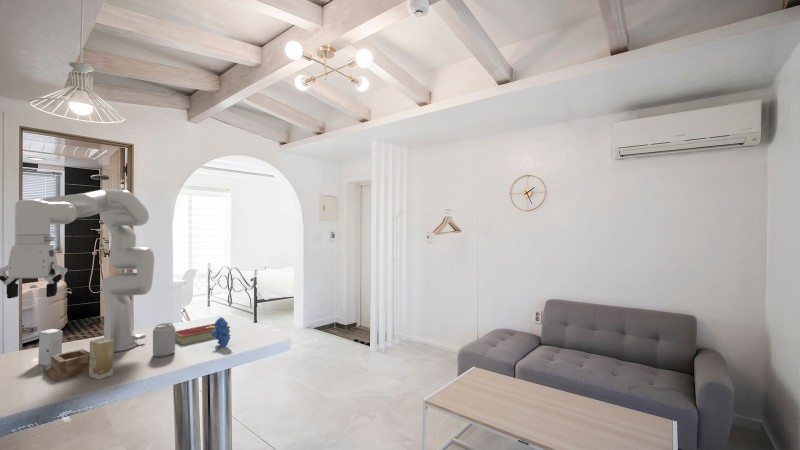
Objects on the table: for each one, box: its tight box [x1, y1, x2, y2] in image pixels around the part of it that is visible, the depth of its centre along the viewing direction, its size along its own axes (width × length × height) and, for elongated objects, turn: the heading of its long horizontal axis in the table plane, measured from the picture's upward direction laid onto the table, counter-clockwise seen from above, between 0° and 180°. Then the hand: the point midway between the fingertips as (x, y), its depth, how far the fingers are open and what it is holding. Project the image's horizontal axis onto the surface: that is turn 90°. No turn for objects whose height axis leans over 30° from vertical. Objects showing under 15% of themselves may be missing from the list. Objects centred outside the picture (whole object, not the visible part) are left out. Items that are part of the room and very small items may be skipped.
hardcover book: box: [175, 323, 231, 345], centre depth 169 cm, size 12×21×4 cm, turn 140°
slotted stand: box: [42, 348, 90, 382], centre depth 129 cm, size 12×14×6 cm
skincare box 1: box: [37, 328, 64, 367], centre depth 136 cm, size 6×4×12 cm
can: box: [152, 322, 176, 358], centre depth 146 cm, size 8×8×12 cm
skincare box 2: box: [88, 337, 114, 380], centre depth 125 cm, size 6×4×12 cm
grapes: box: [212, 316, 231, 347], centre depth 156 cm, size 12×7×12 cm, turn 49°
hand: (32, 296), depth 110 cm, fingers open, 9 cm apart
